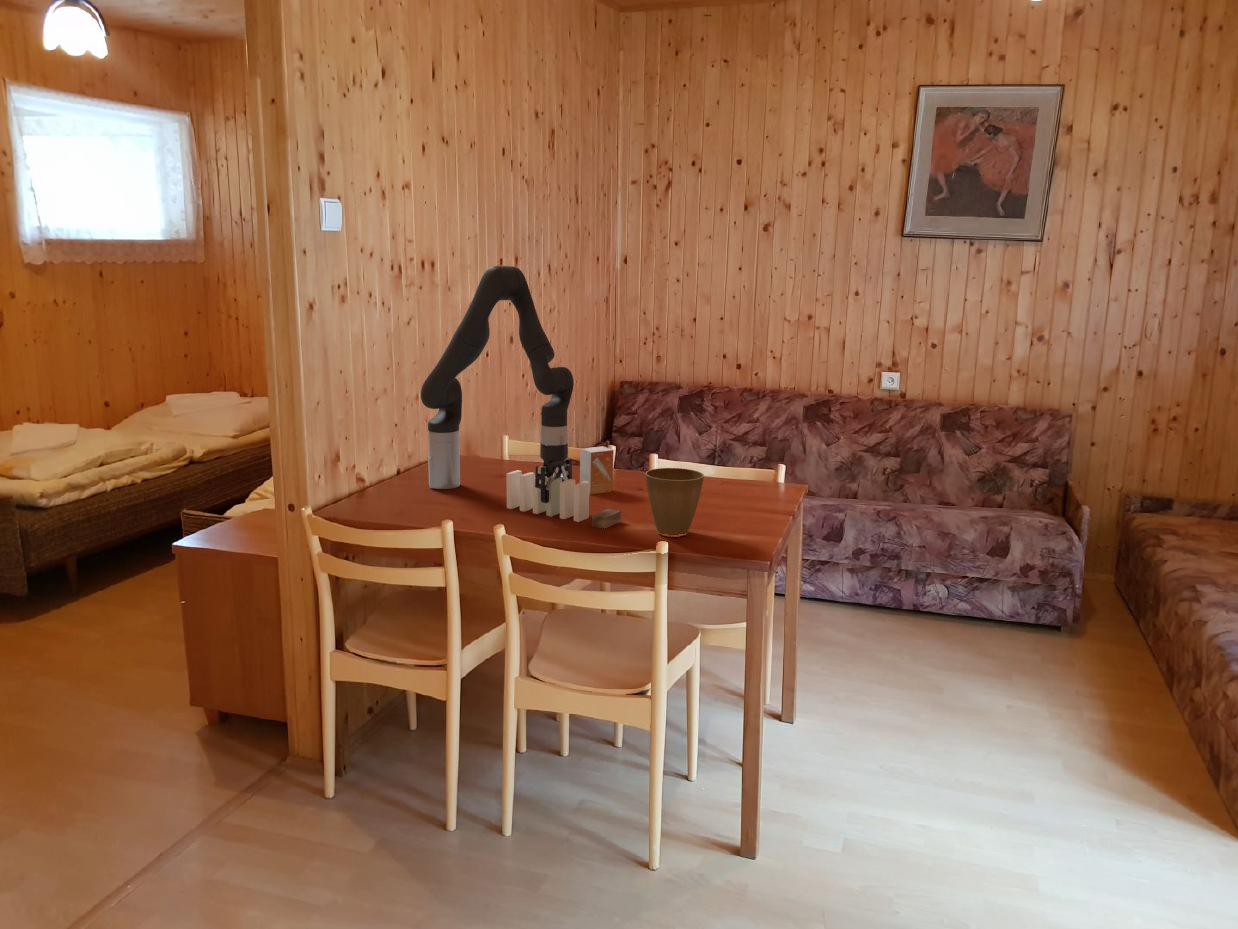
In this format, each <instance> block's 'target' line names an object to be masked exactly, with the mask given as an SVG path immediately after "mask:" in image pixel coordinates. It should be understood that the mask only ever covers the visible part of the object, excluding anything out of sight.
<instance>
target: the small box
mask: <svg viewBox="0 0 1238 929" xmlns="http://www.w3.org/2000/svg"><path fill="white" fill-rule="evenodd" d="M579 452H580V453H579V456H580V457H579V458H580V459H579V460H580V461H579V462H580V463H579V483H581V482H583V481H586V482H589V496H590V495H591V496H592V495H597V494H604V493H605V494H606V493H612V492H613V486H614V485H613V482H614V479H613V478H614V449H612V448H609V447H606V446H595V447H594V446H593V447H586V448H580V451H579ZM611 491H612V492H611Z"/></svg>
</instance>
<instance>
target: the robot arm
mask: <svg viewBox="0 0 1238 929" xmlns="http://www.w3.org/2000/svg"><path fill="white" fill-rule="evenodd" d="M500 301H511V303H512V304H513V306H514V308H515V310H516V311H517V315H518V325H519V326H518V336H519V341H520V344H521V345H522V348H523V351H524V352H525V354H526V356H527V358H528V360H529V364H530V369H531V373H532V380H533V384H534V385H535V388H536V389H537V391H538V392H539V393H541V394H542V395H544V396H550V395H551V398H550V400H548V401H547V402H544V404H542V405H541V409H540V410H541V411H540V412H541V413H540V414H541V415H540V416H541V420H540V421H541V422H540V423H541V424H540V431H539V434H540V436H539V437H540V438H539V439H540V442H539V443H540V444H539V445H540V446H539V451H540V452H539V453H540V454H539V457H540V458H541V460H542V461H543V464H542V465H540V466H539V465H536V466H535V472H534V473H535V488H539V489H540V490H541V502H542V503H548V502H549V490H548V489H549V486H550V484H551V483H552V482H553V480H554V479H556V478H557V477H558V478H559V477H562V482H563V481H566V480H569V479H573V464H572V463H573V461H572V458H569V430H568V429H569V428H568V410H569V405H570V402H571V398H572V394H573V391H574V387H575V386H574V383H575V380H574V375H573V373H572V371H571V370H570V369H569V368H568V367H564V366H558V367H551V366H550V365H549V363H550V362H552V361H553V359H554V358H555V351H554V349H553V346H552V345H551V342H550V340H549V338H548V337H547V334H546V333H545V331H544V328H543V325H542V323H541V322H540V318H539V316H538V312H537V309H536V306H535V304H534V300H533V298H532V294H531V291H530V287H529V284H528V282H527V279H526V277H525V275H524V273H523V271H522V270H521V269H520V268H518V267H516V266H511V265H494V266H490V267H489V268H487V269H486V270H485V272H484V273H483V274H482V277H481V279H480V281H479V283H478V285H477V287H476V291H475V293H474V295H473V298H472V300H471V302H470V304H469V306H468V308H467V310H466V312H465V314H464V316H463V318H462V320H461V322H460V323H459V325H458V326H457V328H456V330H455V332H454V333H453V335H452V337H451V339H450V341H449V344H448V345H447V347H446V348H445V350H444V352H443V354H442V355H441V357H440V358H439V361H438V362H437V363H436V365H435V366H434V368H433V369H432V371H431V372H430V373H429V374H428V376H427V377H426V378H425V380H424V382H423V384H422V385H421V390H420V399H421V402H422V404H423V406H424V407H425V408H428V409H431V410H438V412H437V413H436V414H435V415H434V416H433V417H432V418H430V419H429V421H428V422H427V439H428V441H427V443H428V444H427V446H428V454H427V456H428V457H427V458H428V459H427V460H428V462H427V467H428V485H429V489H437V490H451V489H456V488H458V487H460V486H461V460H460V458H461V457H460V456H461V455H460V424H461V421H462V414H463V407H462V406H463V389H462V385H461V382H460V380H458V379H457V378H456V377H458V375H460V374H461V373H463V371H464V370H466V369H467V368H468V367H470V366H471V365H472V364H473V363H474V362H475V361H477V359H479V357H480V355H481V354H482V353H483V351H484V349H485V347H486V346H487V344H488V342H489V341H490V340H489V339H490V332H491V331H490V329H491V328H490V321H489V319H490V316H491V313H492V311H493V310H494V307H495V306H496V305H497V304H498V302H500ZM546 476H547V478H545V477H546ZM539 480H541V482H540V484H539ZM545 482H547V483H546V485H545Z"/></svg>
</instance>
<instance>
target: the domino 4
mask: <svg viewBox="0 0 1238 929" xmlns="http://www.w3.org/2000/svg"><path fill="white" fill-rule="evenodd" d="M560 482H562V477H559V478H558V477H557V478H556V479H554V480H553V482H552V483H551V484H550V486H549V489H548V490H549V502H548V503H546V511H545V514H546V515H545V516H547V517H554V516H556V515H560Z"/></svg>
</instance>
